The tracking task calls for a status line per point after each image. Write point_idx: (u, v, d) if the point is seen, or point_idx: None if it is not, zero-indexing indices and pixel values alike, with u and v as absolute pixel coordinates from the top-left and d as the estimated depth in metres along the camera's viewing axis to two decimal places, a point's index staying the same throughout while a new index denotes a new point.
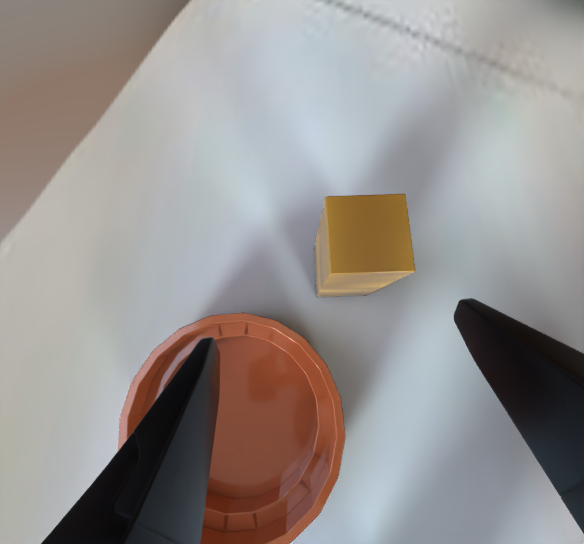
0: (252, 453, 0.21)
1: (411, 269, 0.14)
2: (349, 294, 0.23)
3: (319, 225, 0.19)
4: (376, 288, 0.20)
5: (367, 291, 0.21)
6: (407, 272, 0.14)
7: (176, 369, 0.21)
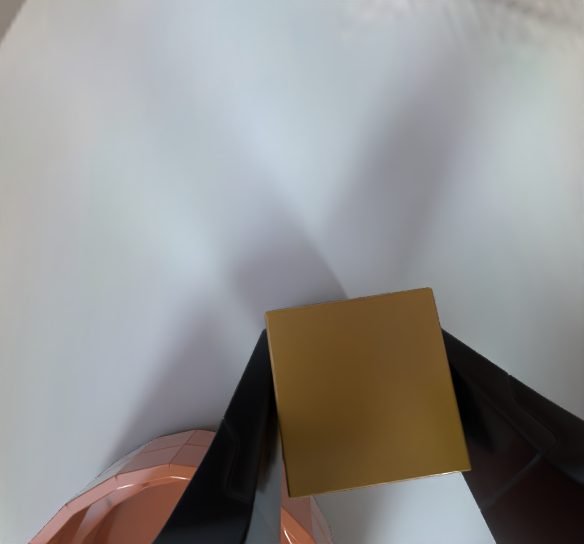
0: None
1: (464, 466, 0.06)
2: None
3: None
4: None
5: None
6: (454, 468, 0.07)
7: None
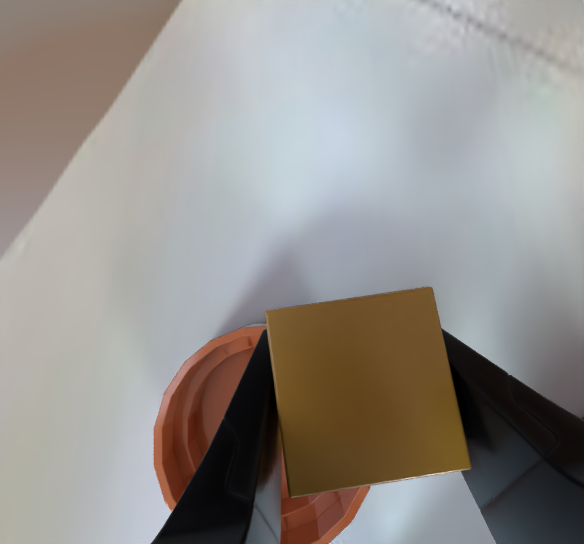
0: None
1: (464, 465, 0.06)
2: None
3: None
4: None
5: None
6: (454, 468, 0.07)
7: (205, 377, 0.21)
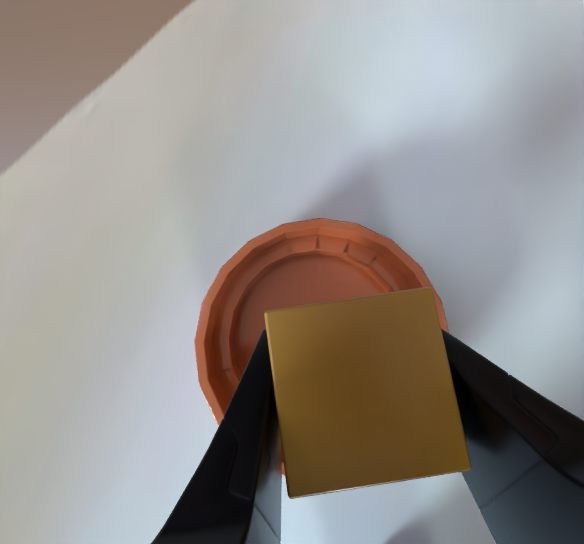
0: None
1: (464, 466, 0.06)
2: None
3: None
4: None
5: None
6: (454, 468, 0.07)
7: (261, 272, 0.19)
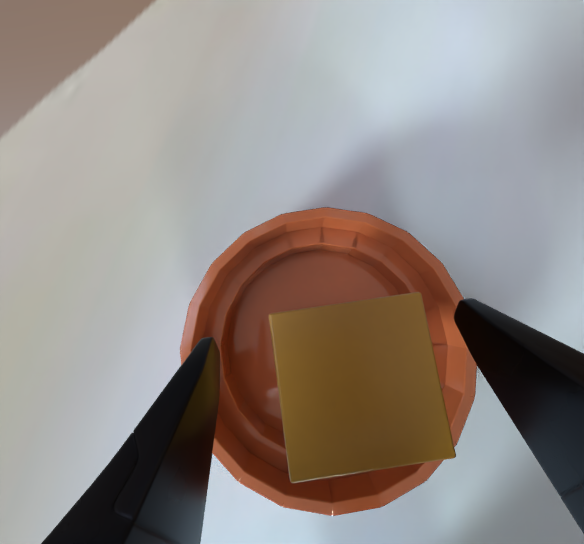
0: None
1: (449, 455, 0.07)
2: None
3: None
4: None
5: None
6: (440, 456, 0.07)
7: (258, 269, 0.17)
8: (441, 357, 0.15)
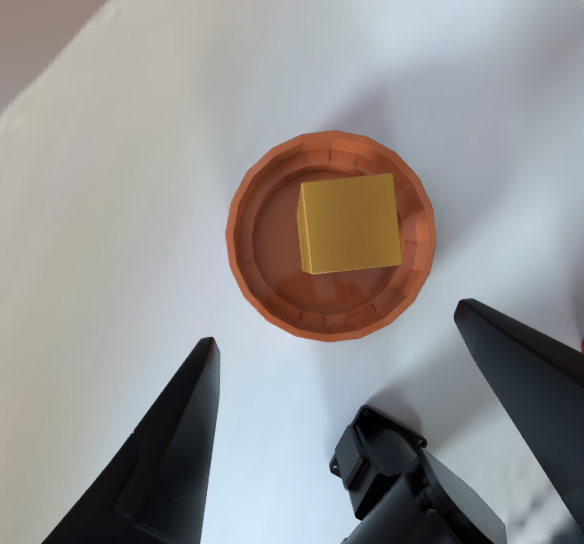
0: (326, 278, 0.23)
1: (398, 262, 0.13)
2: None
3: (298, 204, 0.17)
4: None
5: None
6: None
7: (279, 181, 0.21)
8: (411, 251, 0.21)
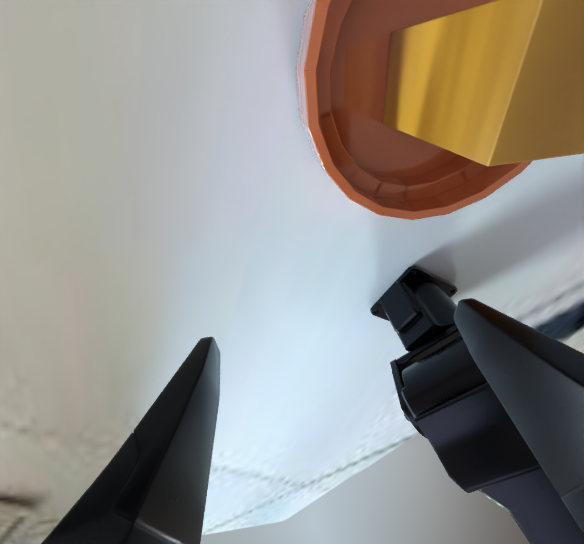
0: None
1: None
2: None
3: (454, 18, 0.10)
4: None
5: None
6: None
7: None
8: None
